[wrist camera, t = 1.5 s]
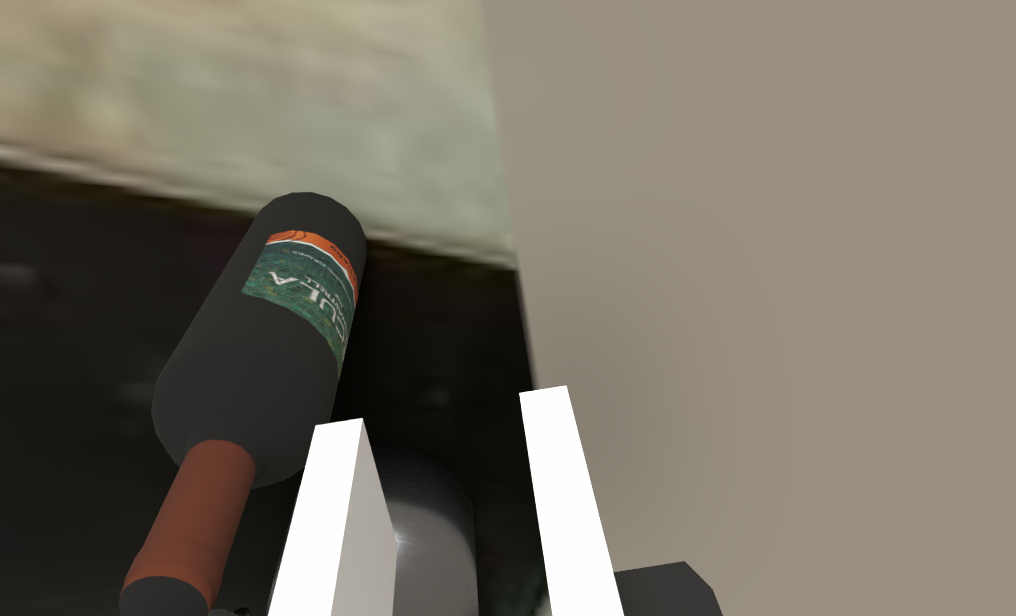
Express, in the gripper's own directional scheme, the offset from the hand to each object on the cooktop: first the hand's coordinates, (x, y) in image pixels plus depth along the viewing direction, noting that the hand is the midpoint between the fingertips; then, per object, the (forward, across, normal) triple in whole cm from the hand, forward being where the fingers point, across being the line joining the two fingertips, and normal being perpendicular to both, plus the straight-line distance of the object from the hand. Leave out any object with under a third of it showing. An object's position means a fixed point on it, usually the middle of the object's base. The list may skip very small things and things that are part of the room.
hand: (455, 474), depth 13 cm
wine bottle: (+39, -11, -10) cm, 41 cm away
